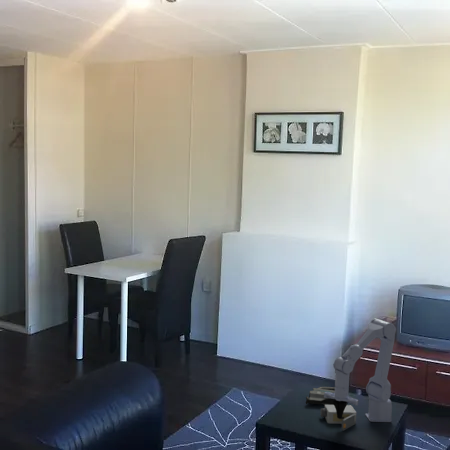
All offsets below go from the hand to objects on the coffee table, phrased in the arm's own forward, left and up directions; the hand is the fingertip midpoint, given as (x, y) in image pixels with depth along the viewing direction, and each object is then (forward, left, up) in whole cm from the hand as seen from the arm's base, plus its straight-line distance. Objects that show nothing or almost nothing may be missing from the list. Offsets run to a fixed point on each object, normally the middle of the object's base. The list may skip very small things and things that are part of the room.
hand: (339, 417), depth 255 cm
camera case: (-2, -8, -4) cm, 9 cm away
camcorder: (-1, -29, -5) cm, 30 cm away
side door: (-4, +1, -4) cm, 6 cm away
